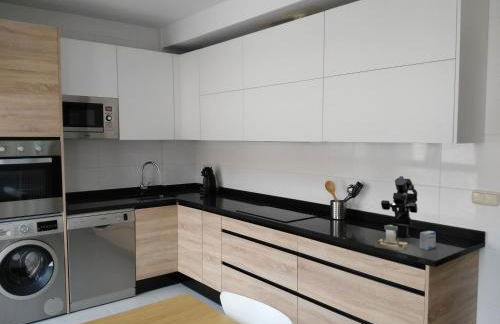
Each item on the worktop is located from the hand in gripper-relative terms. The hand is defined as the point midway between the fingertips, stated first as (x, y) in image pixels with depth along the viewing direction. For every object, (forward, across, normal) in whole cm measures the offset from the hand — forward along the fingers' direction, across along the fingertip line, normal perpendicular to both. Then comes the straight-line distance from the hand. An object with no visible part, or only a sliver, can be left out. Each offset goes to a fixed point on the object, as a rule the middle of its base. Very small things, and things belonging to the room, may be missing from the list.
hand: (396, 218), depth 212 cm
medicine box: (+10, +16, +9) cm, 21 cm away
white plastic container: (+15, 0, 0) cm, 15 cm away
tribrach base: (+16, 0, +3) cm, 16 cm away
